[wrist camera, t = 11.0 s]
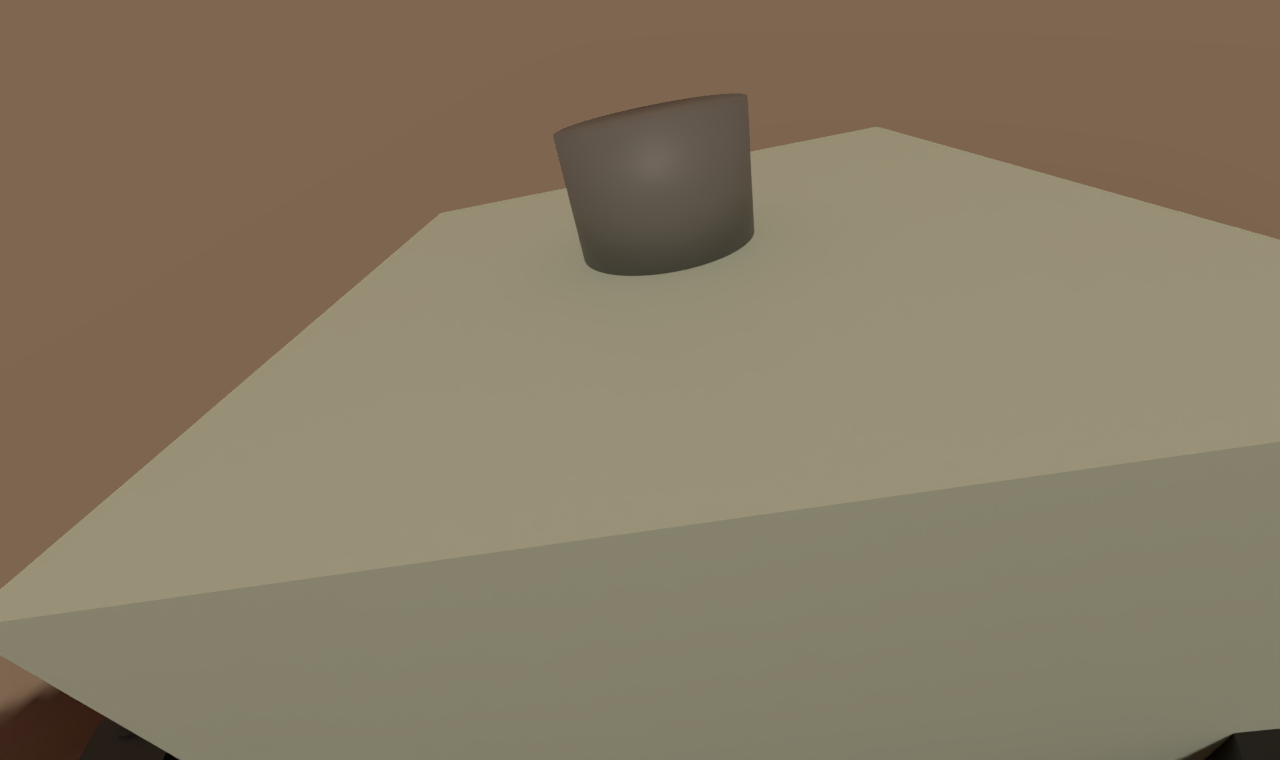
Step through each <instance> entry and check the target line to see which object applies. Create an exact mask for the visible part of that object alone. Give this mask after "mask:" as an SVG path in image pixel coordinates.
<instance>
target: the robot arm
mask: <svg viewBox="0 0 1280 760" xmlns="http://www.w3.org/2000/svg"><path fill="white" fill-rule="evenodd" d="M79 760H179V759H178V758H176V757H174V756H173V755H171V754H169V753H167V752H166V751H164V750H162V749H161V748H159V747H157V746H155V745H154V744H152V743H150V742H149V741H147V740H145V739H143V738H142V737H140V736H138V735H136V734H135V733H133V732H131V731H130V730H128V729H126V728H124V727H123V726H121V725H119V724H118V723H116V722H114V721H112V720H111V719H109V718H107V717H105V718H104V719H103V721H102V722H101V724H100V725H99V726H98V728H97V729H96V731H95V733H94V734H93V736H92V738H91V740H90V742H89V743H88V745H87V747H86V749H85V750H84V752H83V754H82V756H81V757H80V759H79ZM1205 760H1280V729H1270V730H1260V731H1250V732H1239V733H1234V734H1233V735H1231V736H1230V737H1229V738H1228V739H1227V740H1226V741H1225V742H1224V743H1223V744H1221V745H1220V746H1219V747H1218V748H1217V749H1216V750H1215V751H1214V752H1212V753H1211V754H1210V755H1209V756H1208V757H1207V758H1206V759H1205Z"/></svg>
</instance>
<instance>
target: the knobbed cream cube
mask: <svg viewBox="0 0 1280 760" xmlns="http://www.w3.org/2000/svg"><path fill="white" fill-rule="evenodd" d="M553 136H554V141H555V144H556V149H557V152H558V157H559V161H560V165H561V169H562V173H563V177H564V181H565V185H566V188H565V189H560V190H555V191H550V192H545V193H540V194H535V195H530V196H525V197H520V198H515V199H510V200H505V201H499V202H494V203H489V204H485V205H479V206H474V207H470V208H464V209H459V210H454V211H449V212H444V213H440V214H439V215H438V216H437V217H436V218H434V219H433V220H432V221H431V222H430V223H429V224H427V225H426V226H425V227H424V228H423V229H422V230H420V231H419V232H418V233H417V234H416V235H415V236H413V237H412V238H411V239H410V240H409V241H408V242H406V243H405V244H404V245H403V246H402V247H400V248H399V249H398V250H397V251H396V252H395V253H394V254H392V255H391V256H390V257H389V258H388V259H387V260H385V261H384V262H383V263H382V264H381V265H379V266H378V267H377V268H376V269H375V270H374V271H373V272H371V273H370V274H369V275H368V276H367V277H365V278H364V279H363V280H362V281H361V282H359V283H358V284H357V285H356V286H355V287H354V288H353V289H351V290H350V291H349V292H348V293H347V294H345V295H344V296H343V297H342V298H341V299H340V300H338V301H337V302H336V303H335V304H334V305H332V306H331V307H330V308H329V309H328V310H327V311H325V312H324V313H323V314H322V315H321V316H320V317H319V318H317V319H316V320H315V321H314V322H313V323H311V324H310V325H309V326H308V327H307V328H306V329H304V330H303V331H302V332H301V333H300V334H299V335H297V336H296V337H295V338H294V339H293V340H291V341H290V342H289V343H288V344H287V345H286V346H285V347H283V348H282V349H281V350H280V351H279V352H278V353H276V354H275V355H274V356H273V357H272V358H271V359H269V360H268V361H267V362H266V363H265V364H263V365H262V366H261V367H260V368H259V369H258V370H256V371H255V372H254V373H253V374H252V375H250V376H249V377H248V378H247V379H246V380H245V381H244V382H242V383H241V384H240V385H239V386H238V387H237V388H235V389H234V390H233V391H232V392H231V393H229V394H228V395H227V396H226V397H225V398H224V399H222V400H221V401H220V402H219V403H218V404H217V405H215V406H214V407H213V408H212V409H211V410H210V411H208V412H207V413H206V414H205V415H204V416H203V417H201V418H200V419H199V420H198V421H197V422H195V423H194V424H193V425H192V426H191V427H190V428H189V429H187V430H186V431H185V432H184V433H183V434H181V435H180V436H179V437H178V438H177V439H176V440H174V441H173V442H172V443H171V444H170V445H169V446H167V447H166V448H165V449H164V450H163V451H161V452H160V453H159V454H158V455H157V456H156V457H154V458H153V459H152V460H151V461H150V462H149V463H148V464H146V465H145V466H144V467H143V468H142V469H140V470H139V471H138V472H137V473H136V474H135V475H133V476H132V477H131V478H130V479H129V480H127V481H126V482H125V483H124V484H123V485H122V486H121V487H119V488H118V489H117V490H116V491H115V492H113V493H112V494H111V495H110V496H109V497H108V498H106V499H105V500H104V501H103V502H102V503H101V504H99V505H98V506H97V507H96V508H95V509H94V510H92V511H91V512H90V513H89V514H88V515H86V516H85V517H84V518H83V519H82V520H81V521H79V522H78V523H77V524H76V525H75V526H74V527H72V528H71V529H70V530H69V531H68V532H67V533H65V534H64V535H63V536H62V537H61V538H60V539H58V540H57V541H56V542H55V543H54V544H53V545H51V546H50V547H49V548H48V549H47V550H46V551H44V552H43V553H42V554H41V555H40V556H38V558H36V559H35V560H34V561H33V562H32V563H30V564H29V565H28V566H27V567H26V568H24V569H23V570H22V571H21V572H20V573H19V574H17V575H16V576H15V577H14V578H13V579H12V580H10V581H9V582H8V583H7V584H6V585H5V586H3V587H2V588H1V589H0V655H1V656H2V657H4V658H6V659H8V660H9V661H11V662H13V663H14V664H16V665H18V666H20V667H21V668H23V669H25V670H26V671H28V672H30V673H32V674H33V675H35V676H37V677H38V678H40V679H42V680H44V681H45V682H47V683H49V684H50V685H52V686H54V687H56V688H57V689H59V690H61V691H62V692H64V693H66V694H68V695H69V696H71V697H73V698H75V699H76V700H78V701H80V702H81V703H83V704H85V705H87V706H88V707H90V708H92V709H93V710H95V711H97V712H99V713H100V714H102V715H104V716H105V717H107V718H109V719H111V720H112V721H114V722H116V723H118V724H119V725H121V726H123V727H124V728H126V729H128V730H130V731H131V732H133V733H135V734H136V735H138V736H140V737H142V738H143V739H145V740H147V741H149V742H150V743H152V744H154V745H155V746H157V747H159V748H161V749H162V750H164V751H166V752H167V753H169V754H171V755H173V756H174V757H176V758H178V759H179V760H1205V759H1206V758H1207V757H1208V756H1209V755H1210V754H1211V753H1212V752H1214V751H1215V750H1216V749H1217V748H1218V747H1219V746H1220V745H1221V744H1223V743H1224V742H1225V741H1226V740H1227V739H1228V738H1229V737H1230V736H1231V735H1233V734H1234V733H1239V732H1250V731H1260V730H1270V729H1280V240H1278V239H1275V238H1272V237H1268V236H1264V235H1261V234H1257V233H1254V232H1250V231H1247V230H1243V229H1240V228H1236V227H1232V226H1229V225H1225V224H1221V223H1218V222H1215V221H1211V220H1207V219H1204V218H1200V217H1197V216H1193V215H1190V214H1186V213H1183V212H1179V211H1175V210H1172V209H1168V208H1165V207H1161V206H1158V205H1154V204H1151V203H1147V202H1143V201H1140V200H1136V199H1133V198H1129V197H1125V196H1122V195H1119V194H1115V193H1111V192H1108V191H1104V190H1101V189H1097V188H1093V187H1090V186H1086V185H1083V184H1079V183H1076V182H1072V181H1069V180H1065V179H1062V178H1058V177H1054V176H1051V175H1047V174H1044V173H1040V172H1037V171H1033V170H1030V169H1026V168H1022V167H1019V166H1015V165H1012V164H1008V163H1005V162H1001V161H998V160H994V159H990V158H987V157H983V156H980V155H976V154H973V153H969V152H966V151H962V150H959V149H955V148H951V147H948V146H944V145H941V144H937V143H934V142H930V141H926V140H923V139H919V138H916V137H912V136H909V135H905V134H902V133H898V132H895V131H891V130H887V129H884V128H880V127H873V128H868V129H863V130H859V131H853V132H848V133H843V134H838V135H833V136H828V137H823V138H818V139H813V140H808V141H803V142H798V143H793V144H788V145H782V146H777V147H772V148H767V149H762V150H758V151H753V152H750V140H749V139H750V138H749V120H748V100H747V95H745V94H720V95H710V96H702V97H695V98H688V99H682V100H676V101H671V102H665V103H659V104H654V105H649V106H644V107H640V108H635V109H631V110H626V111H622V112H618V113H614V114H610V115H606V116H602V117H598V118H595V119H591V120H588V121H584V122H581V123H578V124H575V125H572V126H569V127H567V128H564V129H562V130H560V131H558V132H556V133H555V134H554V135H553Z"/></svg>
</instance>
